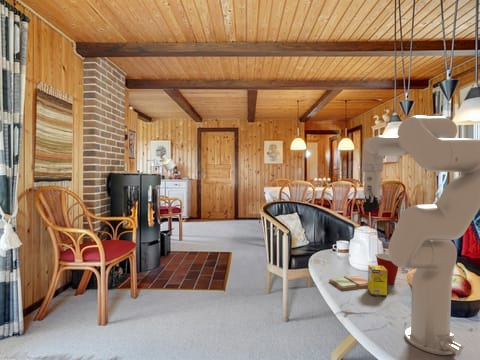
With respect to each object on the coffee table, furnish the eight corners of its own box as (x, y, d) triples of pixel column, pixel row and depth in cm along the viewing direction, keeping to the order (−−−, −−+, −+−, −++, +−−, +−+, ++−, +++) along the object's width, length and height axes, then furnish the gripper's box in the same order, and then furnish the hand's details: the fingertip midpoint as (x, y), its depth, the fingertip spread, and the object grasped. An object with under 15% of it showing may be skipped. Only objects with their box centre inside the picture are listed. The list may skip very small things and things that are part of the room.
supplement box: (387, 297, 113) (387, 270, 113) (371, 296, 114) (371, 269, 114) (382, 291, 119) (383, 265, 119) (367, 290, 120) (368, 264, 120)
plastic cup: (406, 287, 124) (407, 259, 123) (382, 286, 124) (382, 259, 123) (393, 277, 135) (393, 252, 134) (370, 277, 135) (371, 252, 134)
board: (374, 286, 124) (374, 282, 124) (342, 290, 119) (343, 286, 119) (358, 278, 133) (359, 274, 133) (329, 281, 129) (329, 277, 129)
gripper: (378, 169, 105) (377, 214, 107) (386, 168, 120) (384, 208, 121) (357, 168, 110) (356, 212, 111) (367, 168, 124) (365, 207, 125)
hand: (370, 210), depth 116 cm, fingers open, 9 cm apart
